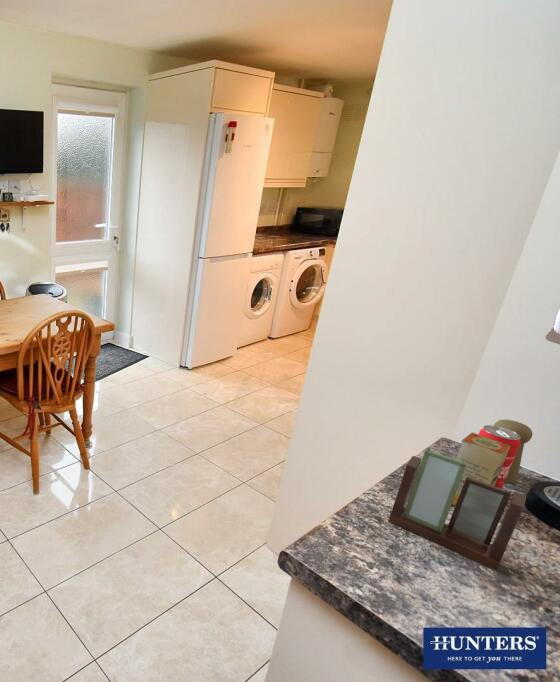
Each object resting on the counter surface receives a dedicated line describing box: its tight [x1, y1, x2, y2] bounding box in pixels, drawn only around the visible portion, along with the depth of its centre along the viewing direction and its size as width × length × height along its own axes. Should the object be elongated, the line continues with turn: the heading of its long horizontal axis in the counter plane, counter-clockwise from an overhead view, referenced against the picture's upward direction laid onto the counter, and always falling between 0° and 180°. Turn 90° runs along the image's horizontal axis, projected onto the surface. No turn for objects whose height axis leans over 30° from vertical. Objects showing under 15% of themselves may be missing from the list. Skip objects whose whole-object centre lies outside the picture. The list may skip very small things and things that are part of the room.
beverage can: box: [477, 424, 521, 489], centre depth 80 cm, size 5×5×12 cm
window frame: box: [388, 455, 527, 571], centre depth 68 cm, size 13×4×11 cm, turn 41°
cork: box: [492, 419, 533, 484], centre depth 85 cm, size 6×6×11 cm
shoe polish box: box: [452, 431, 511, 507], centre depth 76 cm, size 5×5×12 cm
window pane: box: [403, 448, 467, 532], centre depth 69 cm, size 5×1×12 cm, turn 41°
